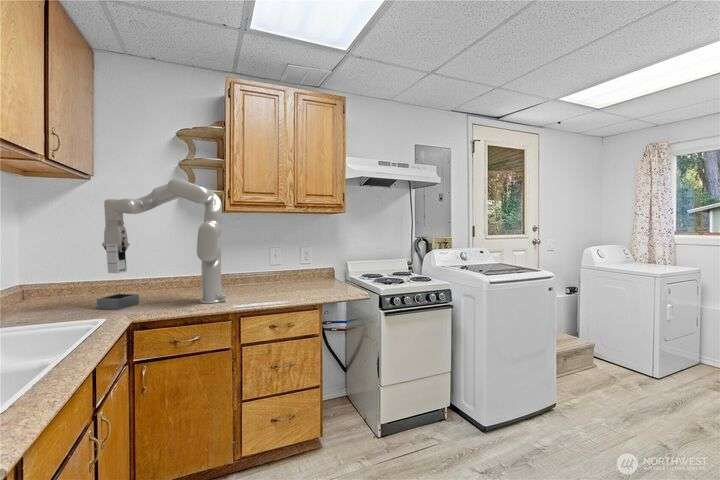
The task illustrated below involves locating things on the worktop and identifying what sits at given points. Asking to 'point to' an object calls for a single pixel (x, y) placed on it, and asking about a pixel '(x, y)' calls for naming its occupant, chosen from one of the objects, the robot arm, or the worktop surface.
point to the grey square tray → (117, 301)
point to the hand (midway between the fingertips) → (116, 259)
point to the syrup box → (115, 259)
